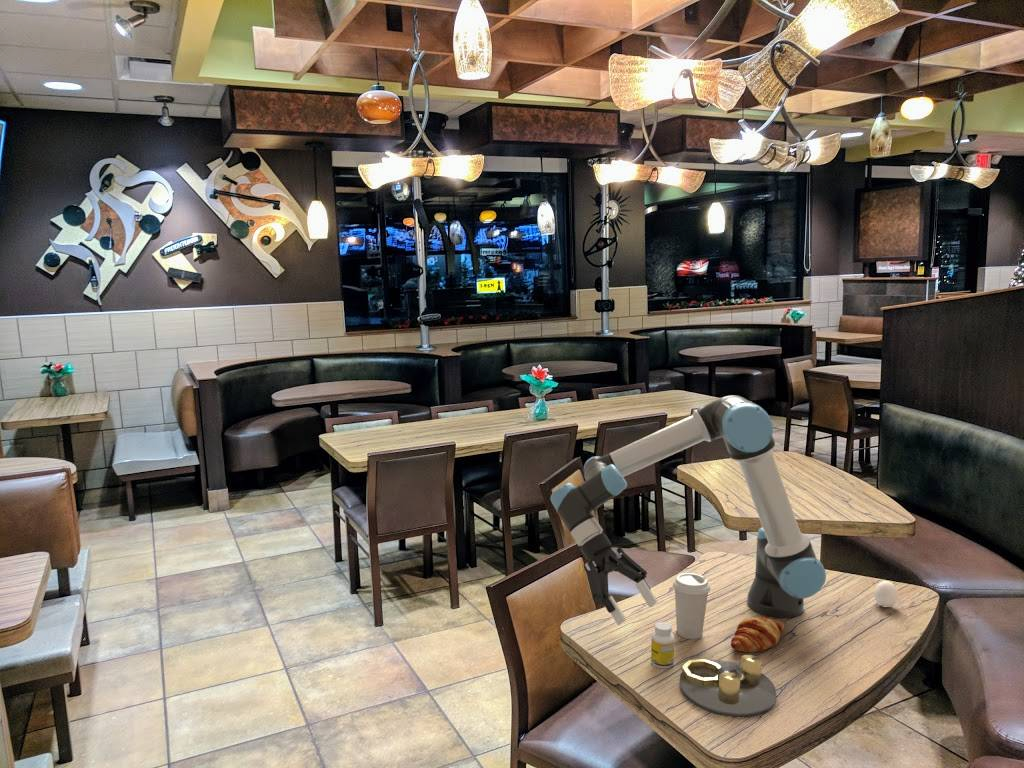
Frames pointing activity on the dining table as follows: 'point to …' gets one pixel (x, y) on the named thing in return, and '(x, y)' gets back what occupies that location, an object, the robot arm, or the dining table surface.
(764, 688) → the carrier plate
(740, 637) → the croissant
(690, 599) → the coffee cup
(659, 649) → the supplement bottle
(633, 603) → the dining table surface
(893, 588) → the egg
